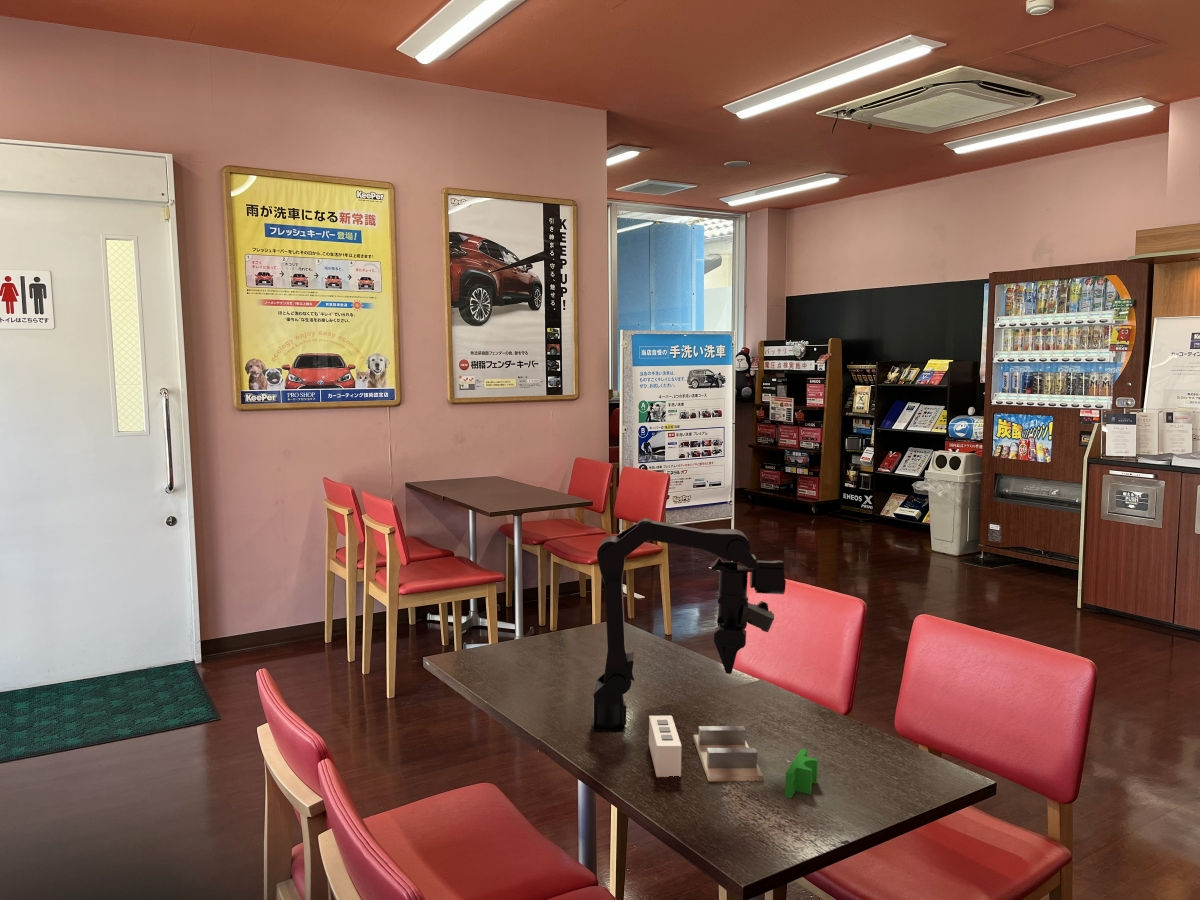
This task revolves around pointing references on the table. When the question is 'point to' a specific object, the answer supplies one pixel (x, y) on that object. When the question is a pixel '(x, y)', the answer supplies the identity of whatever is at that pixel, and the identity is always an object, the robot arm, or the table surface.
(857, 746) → the table surface
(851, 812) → the table surface
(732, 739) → the stand
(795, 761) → the pipe clamp
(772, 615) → the robot arm
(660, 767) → the power strip
